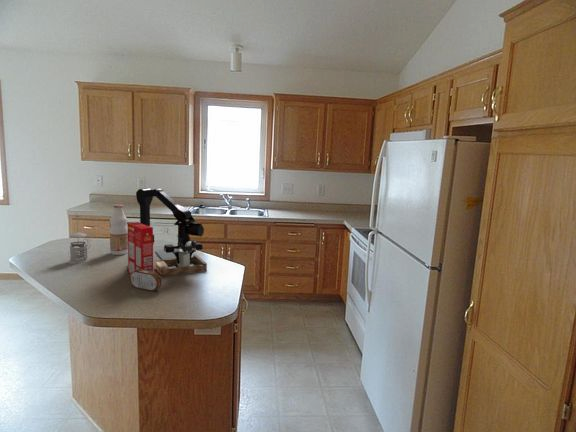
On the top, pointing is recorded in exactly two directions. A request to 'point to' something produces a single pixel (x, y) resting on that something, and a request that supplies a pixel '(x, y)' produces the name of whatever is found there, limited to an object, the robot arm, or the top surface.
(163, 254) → the mat
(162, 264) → the offcut stack
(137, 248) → the food packaging
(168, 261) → the brown rectangular shallow frame
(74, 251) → the french press
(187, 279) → the top surface
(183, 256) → the panel
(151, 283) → the tin
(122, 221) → the fruit juice
